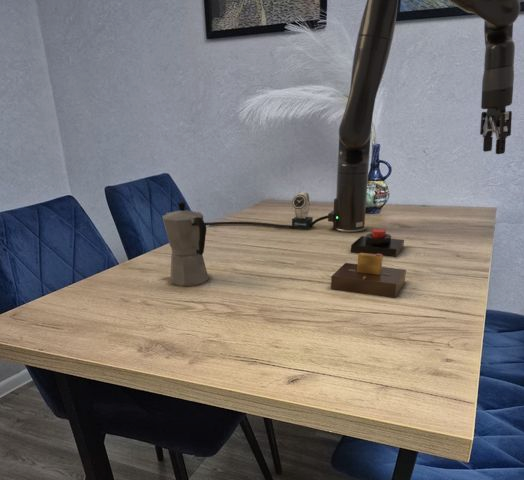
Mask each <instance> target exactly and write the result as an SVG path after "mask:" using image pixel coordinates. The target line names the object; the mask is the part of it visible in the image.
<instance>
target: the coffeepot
mask: <svg viewBox="0 0 524 480" xmlns="http://www.w3.org/2000/svg"><path fill="white" fill-rule="evenodd" d="M177 205H178V209H179V210H175V211H170V212H166V213H165V214H164V215H161V217H162V221H163V225H164V228H165V232H166V237H167V240H168V243H169V247H170V248H171V254H170V256H171V258H170V274H169V275H170V277H169V278H170V282H171V284H173V285H175V286H179V287H192V286H199V285H201V284H204V283H206V282H207V281H208V280H209V275H208V270H207V267H206V263H205V259H204V256H203V255H204V253H205V245H206V238H207V237H206V236H207V225H205V223H206V222H205V221H204V214H203V213H201V212H199V211H194V210H188V209H185V207H186V202H184V201H179V202H177Z"/></svg>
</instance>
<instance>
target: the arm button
mask: <svg viewBox="0 0 524 480" xmlns="http://www.w3.org/2000/svg"><path fill="white" fill-rule="evenodd" d="M371 233H372V237H376V238H383V237H385V236H386V234H387V230H386V229H383V228H375V229H372V230H371Z"/></svg>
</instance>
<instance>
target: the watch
mask: <svg viewBox="0 0 524 480" xmlns="http://www.w3.org/2000/svg"><path fill="white" fill-rule="evenodd" d="M309 194H310V193H308V192H301V191H300V192H298V193H297V194H296V195H295V196H294V197H293V198H292V200H291V205H292V208H293V209H292V210H293V212H294V215H295V216H294V217H293V218H292V219H291V225H292V226H294V227H295V228H291V229H292V230H305V231H308V230H310V229H312V228H313V226H311V227H310V224H311V223H312V222H313V221H314V220H313V219H314V218H313V216H308V215H309V212H310V204H311V203H310V195H309Z"/></svg>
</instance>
